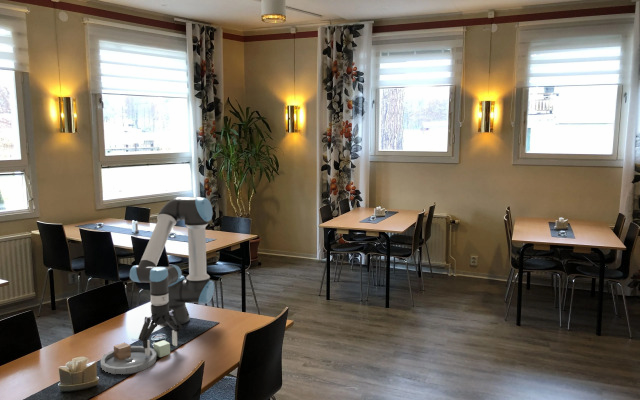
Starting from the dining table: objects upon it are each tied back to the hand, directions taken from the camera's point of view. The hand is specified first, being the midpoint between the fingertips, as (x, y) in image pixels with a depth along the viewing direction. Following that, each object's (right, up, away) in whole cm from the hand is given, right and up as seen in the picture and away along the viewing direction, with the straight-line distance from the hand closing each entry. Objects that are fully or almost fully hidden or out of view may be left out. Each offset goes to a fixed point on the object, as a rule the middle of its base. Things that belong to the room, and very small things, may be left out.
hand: (161, 349), depth 230 cm
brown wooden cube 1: (-15, -2, -4) cm, 16 cm away
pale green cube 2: (0, -2, +1) cm, 2 cm away
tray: (-11, -3, -8) cm, 14 cm away
